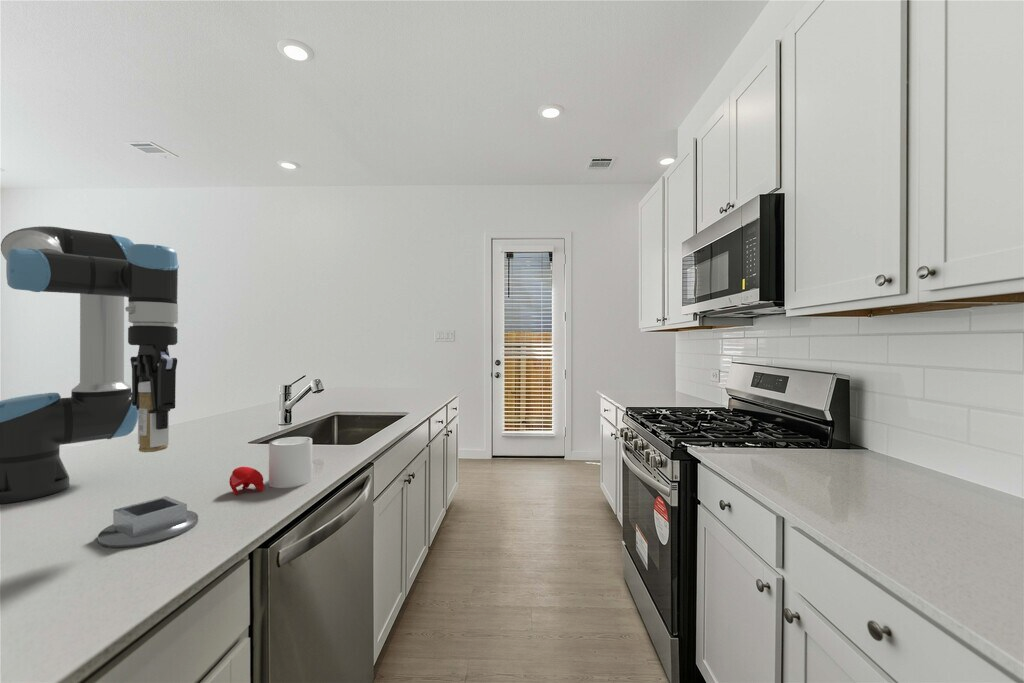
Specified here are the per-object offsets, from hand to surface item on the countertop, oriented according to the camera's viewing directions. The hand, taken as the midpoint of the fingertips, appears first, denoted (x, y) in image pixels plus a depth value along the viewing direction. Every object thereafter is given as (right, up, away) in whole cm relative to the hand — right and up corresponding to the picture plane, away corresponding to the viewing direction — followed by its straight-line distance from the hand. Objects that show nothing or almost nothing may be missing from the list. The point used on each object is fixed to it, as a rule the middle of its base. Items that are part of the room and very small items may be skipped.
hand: (153, 443), depth 87 cm
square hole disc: (0, -17, 0) cm, 17 cm away
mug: (+12, -17, +30) cm, 37 cm away
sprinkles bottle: (0, -1, 0) cm, 1 cm away
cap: (+5, -17, +22) cm, 28 cm away
